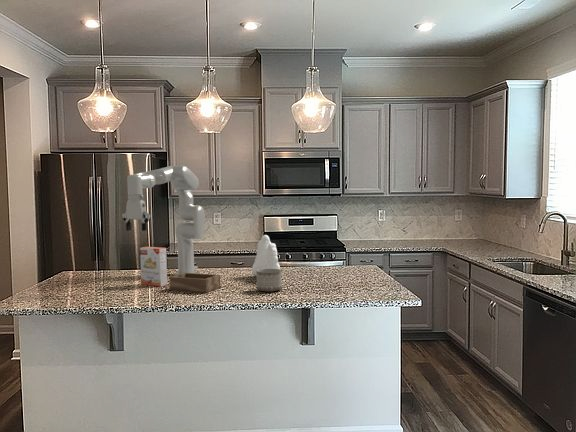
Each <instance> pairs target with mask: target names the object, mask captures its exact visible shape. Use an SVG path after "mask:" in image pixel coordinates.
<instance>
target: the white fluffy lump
mask: <svg viewBox="0 0 576 432" xmlns="http://www.w3.org/2000/svg"><path fill="white" fill-rule="evenodd" d="M260 239H261V240H259V241H258V243H257V245H256V246H257V247H256V256H255V259H254V262H253V265H252V267H251V272H252V274H253V275H254V276H255V277H257V273H256V271H257V270H259V269H269V268H272V269H280V270H281V265H280V263H279V257H278V250H277V249H278V248H277V245H276V243H273V242H272V241H271V239H270V236H269V235H267V234H264V235H262V236H261V238H260Z"/></svg>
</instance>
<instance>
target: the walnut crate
mask: <svg viewBox="0 0 576 432" xmlns="http://www.w3.org/2000/svg"><path fill="white" fill-rule="evenodd" d="M219 289H221V274H212V273H211V274H210V273H198V272H197V273H182V274H179V275H176V274H175V275H172V276H170V277H169V290H170V291H171V292H173V291H174V292H184V293H194V294H195V293H196V294H197V293H199V294H208V293H212V292H214V291H216V290H219Z"/></svg>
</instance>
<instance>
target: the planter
mask: <svg viewBox="0 0 576 432" xmlns="http://www.w3.org/2000/svg"><path fill="white" fill-rule="evenodd" d="M256 273H257V276H256V289H257V291H261V292H263V293H264V292H266V293H273V292H276V291H280V290H282V269H281V268H280V269H272V268H269V269H259V270H257V271H256Z"/></svg>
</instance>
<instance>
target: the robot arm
mask: <svg viewBox="0 0 576 432" xmlns="http://www.w3.org/2000/svg"><path fill="white" fill-rule="evenodd" d="M126 180H127V182H126V183H127V201H126V207H125V208H126V210H125V212H124V213H122V214H121V217H122V219H123V221H124V223H125V224H126V225H125V227H126V232H127V231H132V222H131V221H132V220H135V221H137V220H139V221H141V222H142V223H141V231H142V232H145V231H147V228H148V227H147V226H148V224H147V223H149V220H150V218H151V214H150V213H148V212H147V206H146V202H145V200H144V199H145V195H143V189H151V188H153V187H154V186H155V185H157V186H158V185H162V184H163V185H164V184H165V183H169V182H171V185H172V187H173V189H174V190H175V191H176V193H177V195H178V198H179V199H178V201H179V203H178V216H179V219H180V221H181V220H182V221H187V222H181V223H179V224H177V225H176V227H175V235H176V240H177V241H176V242H177V262H178V265H177V267H178V268H177V269H178V271H176V272H175V275H179V274H182V273H198V271H197V269H198V267H199V266H197V265H195V254H194V253H195V250H194V247H195V246H194V242H193V240H198V239H202V238H203V236H204V233H205V222H206V221H205V220H206V219H205V218H206V216H205V209H204V208H203V206H202V205H197V204H196V205H194V195H193V192H192V191H196V190H197V189H198V188H199V186H200V181H199V177H197V176H196V174H194V172H193V171H192V170H191V169H189V168H188V166H185V165H184V164H183V165H182V164H181V165H169V166H166V167H161V168H158V169H154V170H152V169H151V170H149V171H147V170H146V171H143V172H138V173H134V174H129V175H128V176H127V178H126ZM191 221H192V222H191Z"/></svg>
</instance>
